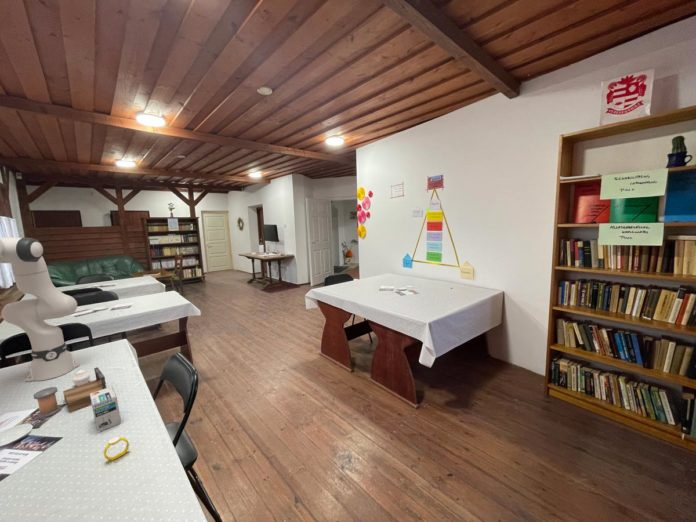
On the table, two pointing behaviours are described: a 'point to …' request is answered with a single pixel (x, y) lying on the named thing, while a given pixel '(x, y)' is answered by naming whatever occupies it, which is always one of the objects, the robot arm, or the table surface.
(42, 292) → the robot arm
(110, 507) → the table surface
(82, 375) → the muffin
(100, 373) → the shelf stand
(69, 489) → the table surface
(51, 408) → the cord spool
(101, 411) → the light bulb box
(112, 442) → the watch
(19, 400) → the table surface
